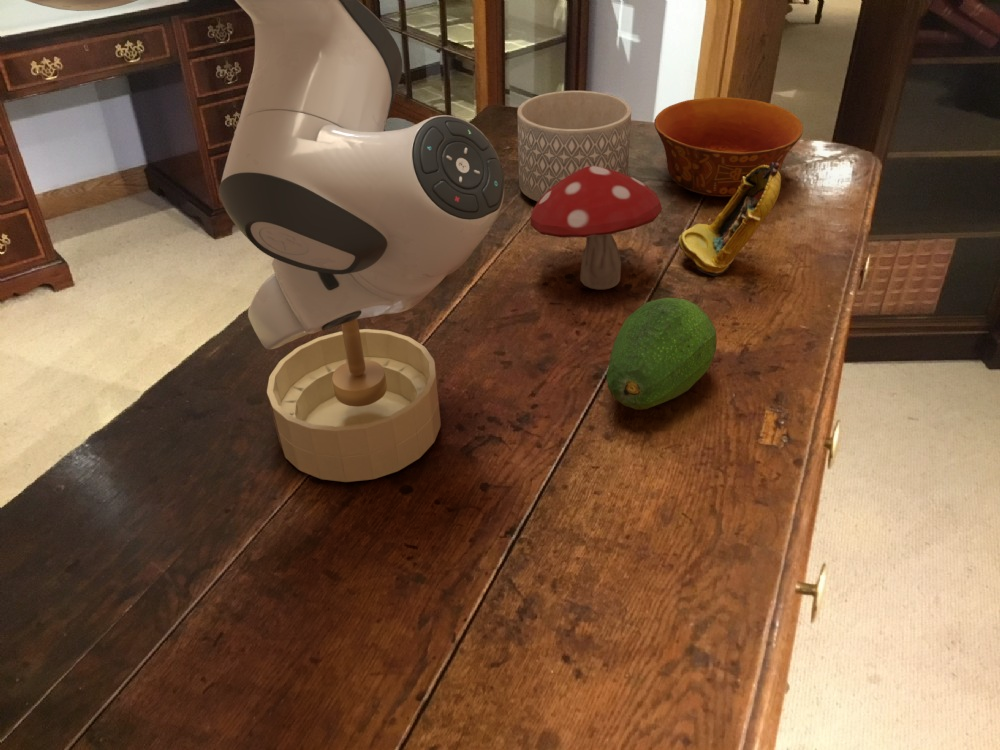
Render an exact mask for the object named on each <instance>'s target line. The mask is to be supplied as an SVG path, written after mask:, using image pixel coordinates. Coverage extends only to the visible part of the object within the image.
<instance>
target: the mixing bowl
mask: <svg viewBox="0 0 1000 750" xmlns="http://www.w3.org/2000/svg"><path fill="white" fill-rule="evenodd" d="M359 331H360V337H361V343H362V349H363V356H364V359H366V360H372V361H375V362H377V363H379V364H380V365H382V367H383V368H384V371H385V377H386V384H387V390H386V393H385V394H384V396H383V397H382V398H381V399H379V400H378V401H376V402H374V403H372V404H369V405H366V406H348V405H345V404H343V403H341V402H339V401H338V400H337V398H336V396H335V392H334V387H333V382H332V375H333V373H334V371H335V370H336V369H337V368H338V367H339V366H341V365H342V364H344V363H347V362H348V361H347V355H346V349H345V344H344V338H343V333H342V330H341V331H337V332H334V333H329V334H326V335H322V336H318V337H316V338H314V339H312V340H310V341H308V342H306V343H304V344H303V343H302V344H301V345H299V346H297V347H296V348H294V349H293V350H292V351H291V352H289V353H287V355H285V356H284V357H283V358H282V359H280V361H278V363H277V364H276V366H275V367H274V368H273V370H272V371H271V373H270V375H269V376H268V381H267V388H266V396H267V400H268V404H269V407H270V411H271V415H272V418H273V423H274V427H275V431H276V435H277V439H278V441H279V446H280V448H281V451H282V453H283V456H284V458H285V459H286V460H287V461H288V462H289V463H290V464H292V465H293V466H294V467H295V468H296V469H297V470H298V471H300V472H302V473H304V474H307V475H309V476H311V477H314V478H317V479H320V480H324V481H325V480H326V481H332V482H333V481H334V482H341V483H351V482H360V481H369V480H376V479H378V478H382V477H385V476H388V475H392V474H394V473H397V472H399V471H401V470H403V469H405V468H406V467H408V466H409V465H411V464H413V463H414V462H416V461H418V460H420V458H421V457H422V456H423V455H424V454H425V453H427V451H428V450H429V449H430V448H431V447H432V445H433V444H435V442H436V439H437V437H438V434H439V432H440V429H441V427H442V422H441V411H440V401H439V393H438V381H437V372H436V371H437V370H436V362H435V361H436V360H435V359H434V358H433V355H431V353H430V352H429V351H428V349H427V348H426V346H424V345H422V343H419V342H418V341H416V340H415V339H413V338H412V337H410V336H408V335H404V334H401V333H398V332H394V331H390V330H384V329H374V328H373V329H371V328H363V329H360V328H359Z"/></svg>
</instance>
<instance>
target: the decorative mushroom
mask: <svg viewBox="0 0 1000 750" xmlns="http://www.w3.org/2000/svg"><path fill="white" fill-rule="evenodd" d="M662 211H663V206H662V203H661V201H660V199H659V197H658V195H657V193H656V192H655V191H654V190H652V189H651V187H649V186H648V185H646V184H645V183H643V182H642V181H640V180H638V179H636V178H634V177H632V176H630V175H625V174H622V173H619V172H616V171H613V170H610V169H607V168H602V167H597V166H588V167H585V168H583V169H580V170H578V171H576V172H574V173H573V174H571V175H569V176H567V177H566V178H564V179H563V180H561V181H560V182H558V183H557V184H556V185H555V186H553V187H552V188H551V189H549V190H548V191H547V192H546V193H545V194H544V195H543V196H542V197H541V198H540V200H539V201H538V202H536V204H535V206H534V207H533V209H532V210H531V215H530V226H531V227H532V229H534V230H535V231H537V232H538V233H539V234H541V235H545V236H550V237H556V238H586V239H585V246H584V250H583V254H582V258H581V265H580V266H581V268H580V276H579V278H580V282H581V284H583V286H585V287H587V288H589V289H592V290H597V291H599V290H603V291H605V290H609V289H612V288H614V287H616V286H617V285H618V284H619V283H620V281H621V268H622V261H621V255H620V253H619V249H618V243H617V242H616V240H615V238H614V235H613V234H616V233H622V232H625V231H629V230H634V229H637V228H639V227H642V226H645V225H649V224H651V223H654V222H655V220H656V219H657V218H658V217H659V215H660V214H661V213H662Z"/></svg>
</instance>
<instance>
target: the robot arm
mask: <svg viewBox="0 0 1000 750" xmlns="http://www.w3.org/2000/svg"><path fill="white" fill-rule="evenodd" d="M137 1H138V0H25V2H29V3H32V4H36V5H38V6H42V7H46V8H52V9H56V10H64V11H73V12H75V11H76V12H87V11H88V12H90V11H92V12H93V11H102V10H107V9H113V8H117V7H122V6H125V5H127V4H128V5H129V4H132V3H134V2H137ZM234 1H235V2H236V4H237V5H238V6H239V7H240V8H241V9H242V10H243V11H244V12H245V13H246V14H247V15H248V16H249V18H250V19H251V23H252V26H253V31H254V32H253V33H254V60H253V68H252V73H251V75H250V80H249V83H248V87H247V89H246V93H245V98H244V101H243V104H242V108H241V111H240V115H239V118H238V121H237V125H236V128H235V130H234V133H233V138H232V140H231V144H230V147H229V151H228V155H227V158H226V162H225V165H224V168H223V172H222V176H221V181H220V184H219V186H218V195H219V198H220V201H221V203H222V206H223V208H224V210H225V212H226V214H227V215H228V216H229V218H230V220H231V221H232V223H233V224H234V225H235V226H236V228H237V229H238V230H239V231H240V232H241V234H243V235H244V236H245V238H247V240H249V242H250V243H251V244H252V245H253V246H254V247H256V248H257V249H258V250H259V251H261V252H262V253H263V254H265V255H267V256H268V257H271V258H273V259H272V262H271V266H272V269H273V272H274V273H273V274H271V275H270V276H269V277H268V278H266V280H264V281H263V283H262V284H261V285H260V286H259V288H258V289H257V291H256V293H255V295H254V297H253V298H252V301H251V302H250V305H249V306H248V310H247V317H248V321H249V322H250V325H251V327H252V329H253V331H254V334H255V335H256V337H257V338H258V340H259V342H260V343H261V345H262V346H263V348H264V349H266V350H275V349H278V348H280V347H283V346H284V345H286V344H288V343H291V342H293V341H296V340H297V339H300V338H303V337H305V336H307V335H312V334H316V333H318V332H321V331H327V330H329V329H331V328H334V327H337V326H341V324H343V323H346V322H350V321H353V320H355V319H358V320H361V319H365V318H371V317H378V316H382V315H392V314H400V313H403V312H406V311H408V310H410V309H412V308H414V307H415V306H417V305H418V304H420V302H421V301H422V300H424V299H425V298H426V297H427V296H428V295H429V294H430V293H431V292H432V291H433V290H434V289H436V287H437V286H438V285H440V283H442V281H443V280H444V279H445V278H446V277H447V276H449V275H451V274H454V272H456V271H458V270H459V269H461V267H462V266H464V264H465V263H466V262H467V261H468V260H469V259H470V257H471V256H472V254H473V253H474V252H475V249H476V248H477V247H478V246H479V245H480V243H481V242H482V241H483V240H484V238H485V237H486V236H487V235H488V233H489V231H490V230H491V229H492V227H493V225H494V223H495V222H496V220H497V218H498V216H499V214H500V212H501V210H502V208H503V207H502V206H503V202H504V197H505V176H504V171H503V167H502V163H501V161H500V158H499V156H498V153H497V151H496V150H495V148H494V145H492V143H491V142H490V140H489V139H488V138H487V137H486V136H485V134H484V133H483V131H481V130H480V129H479V128H478V127H476V126H475V125H474V124H473V123H471V122H469V121H467V120H465V119H463V118H460V117H457V116H453V115H446V114H444V115H436V116H431V117H428V118H426V119H424V120H422V121H420V122H418V123H416V124H414V125H412V126H408V127H405V128H401V129H395V130H386V127H387V121H388V117H389V114H390V111H391V110H392V106H393V103H394V100H395V97H396V93H397V91H398V90H397V89H398V87H399V84H400V81H401V78H402V74H403V58H402V54H401V50H400V48H399V46H398V43H397V42H396V40H395V38H394V37H393V35H392V34H391V33H390V30H389V29H388V28H387V27H386V25H385V24H384V23H383V22H382V21H381V20H380V19H379V17H378V16H377V15H376V14H375V13H374V12H372V11H371V10H370V9H369V8H368V7H367V6H366V5H364V4H363V3H362V2H361V1H360V0H234Z"/></svg>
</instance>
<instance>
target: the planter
mask: <svg viewBox="0 0 1000 750" xmlns="http://www.w3.org/2000/svg"><path fill="white" fill-rule="evenodd" d="M516 113H517V114H516V116H517V153H518V155H517V156H518V157H517V158H518V160H517V161H518V186H519V190H520V191H521V193H522V194H523V195H525V196H526V197H527V198H528V199H531V200H533V201H535V202H536V203H538V201H539V200H540V198H541V197H542V196H543V195H544V194H545V193H546V192H547V191H548V190H549V189H551V188H552V187H553V186H555V185H556V184H557V183H558V182H560V181H561V180H563V179H564V178H566V177H567V176H569V175H571V174H573V173H574V172H576V171H578V170H580V169H583V168H585V167H588V166H597V167H602V168H607V169H610V170H613V171H616V172H619V173H622V174H625V175H628V174H629V159H630V158H629V157H630V143H631V142H630V141H631V124H632V108H631V105H630V104H629V103H628V102H627V101H625V99H623V98H620V97H618V96H615V95H613V94H608V93H604V92H599V91H591V90H561V91H560V90H559V91H553V92H549V93H548V92H547V93H542V94H539V95H536V96H532V97H531V98H529V99H526V100H525V101H523V102H522V103H521V104H520V105H519V106H518V107H517V111H516ZM628 176H629V175H628Z"/></svg>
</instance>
